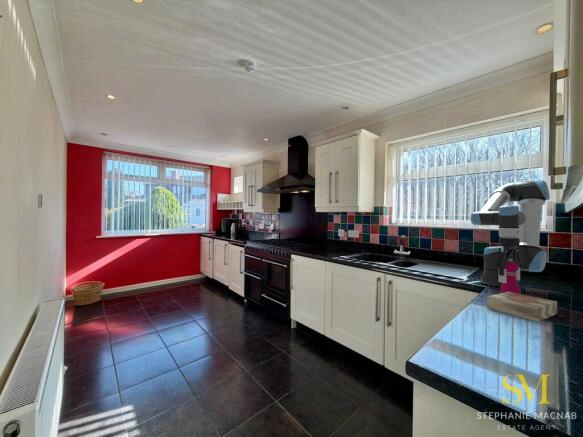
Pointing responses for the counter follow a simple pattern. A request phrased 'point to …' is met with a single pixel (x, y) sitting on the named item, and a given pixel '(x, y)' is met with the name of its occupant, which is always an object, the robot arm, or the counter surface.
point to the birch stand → (522, 305)
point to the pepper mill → (511, 278)
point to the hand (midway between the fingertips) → (509, 281)
